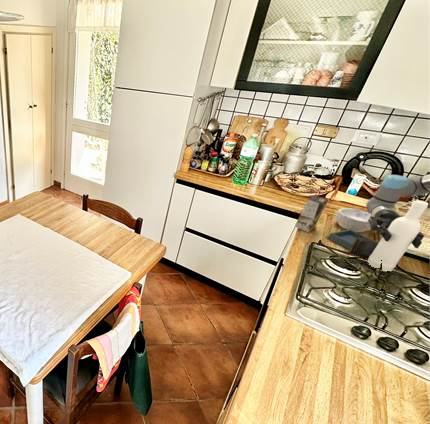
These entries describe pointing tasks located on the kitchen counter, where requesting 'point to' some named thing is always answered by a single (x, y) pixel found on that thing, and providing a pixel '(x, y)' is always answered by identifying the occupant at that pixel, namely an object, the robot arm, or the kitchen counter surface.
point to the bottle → (398, 238)
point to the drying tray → (346, 238)
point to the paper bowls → (353, 219)
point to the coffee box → (311, 213)
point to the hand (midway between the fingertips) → (403, 241)
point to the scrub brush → (363, 247)
